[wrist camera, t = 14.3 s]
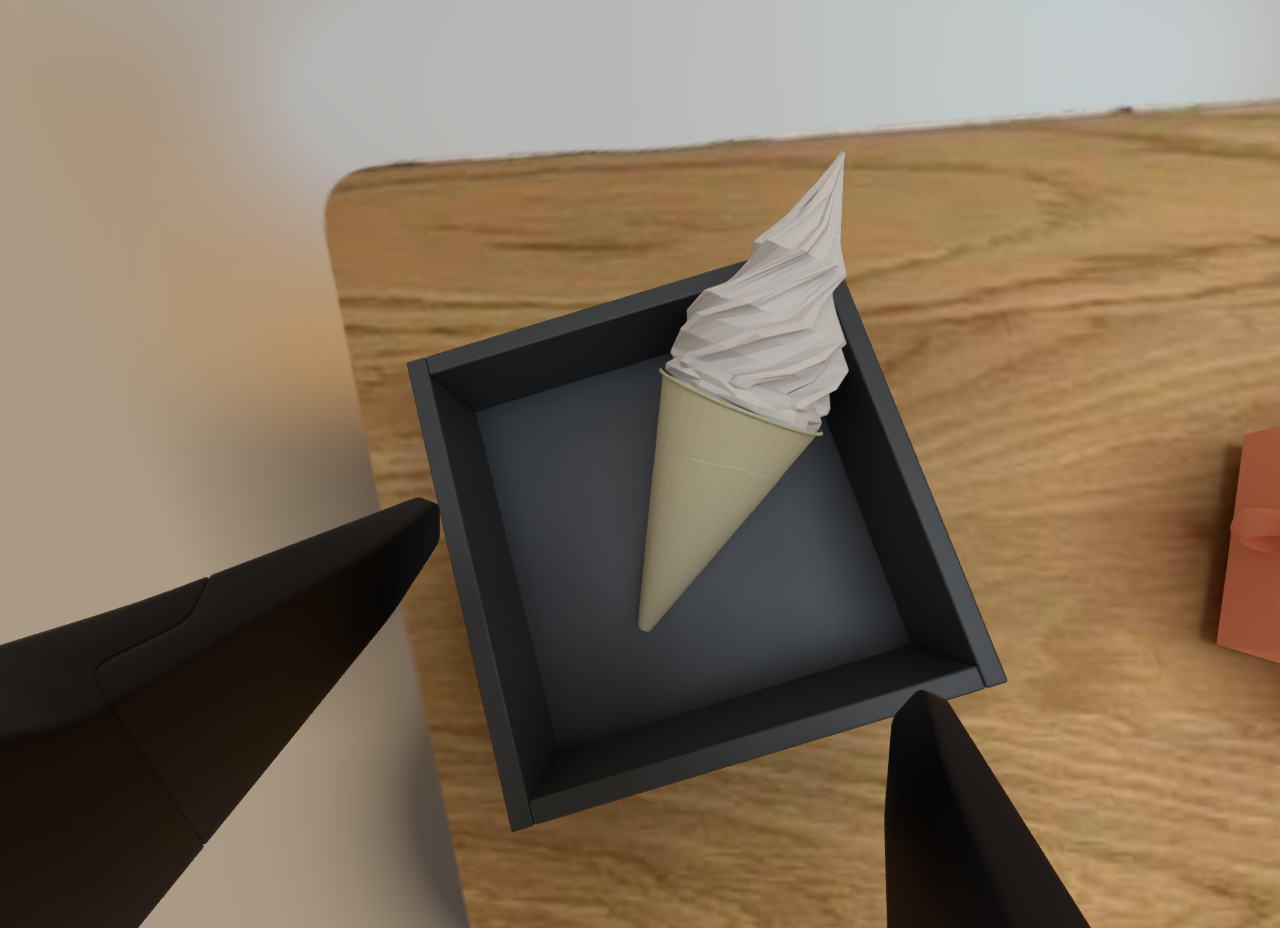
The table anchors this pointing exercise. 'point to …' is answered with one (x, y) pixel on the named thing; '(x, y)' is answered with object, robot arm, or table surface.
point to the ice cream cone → (744, 392)
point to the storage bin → (718, 597)
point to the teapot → (1254, 553)
